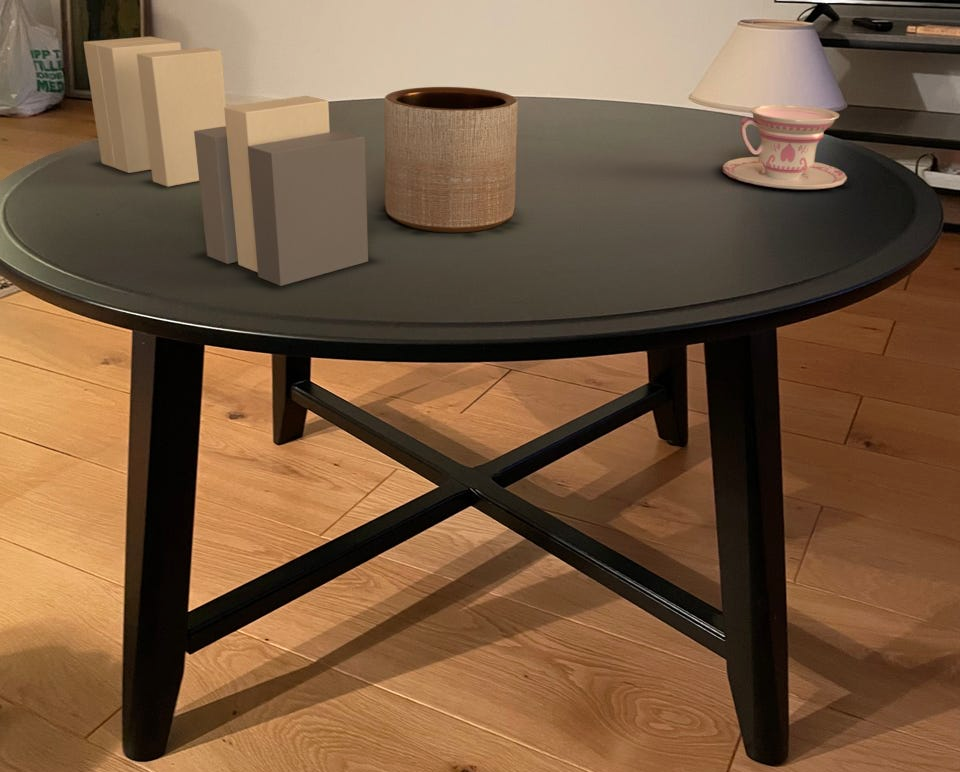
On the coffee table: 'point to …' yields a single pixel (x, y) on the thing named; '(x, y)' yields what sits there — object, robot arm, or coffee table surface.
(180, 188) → the coffee table surface
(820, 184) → the teacup
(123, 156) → the cream books
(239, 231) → the cream book
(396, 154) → the planter
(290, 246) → the grey books
